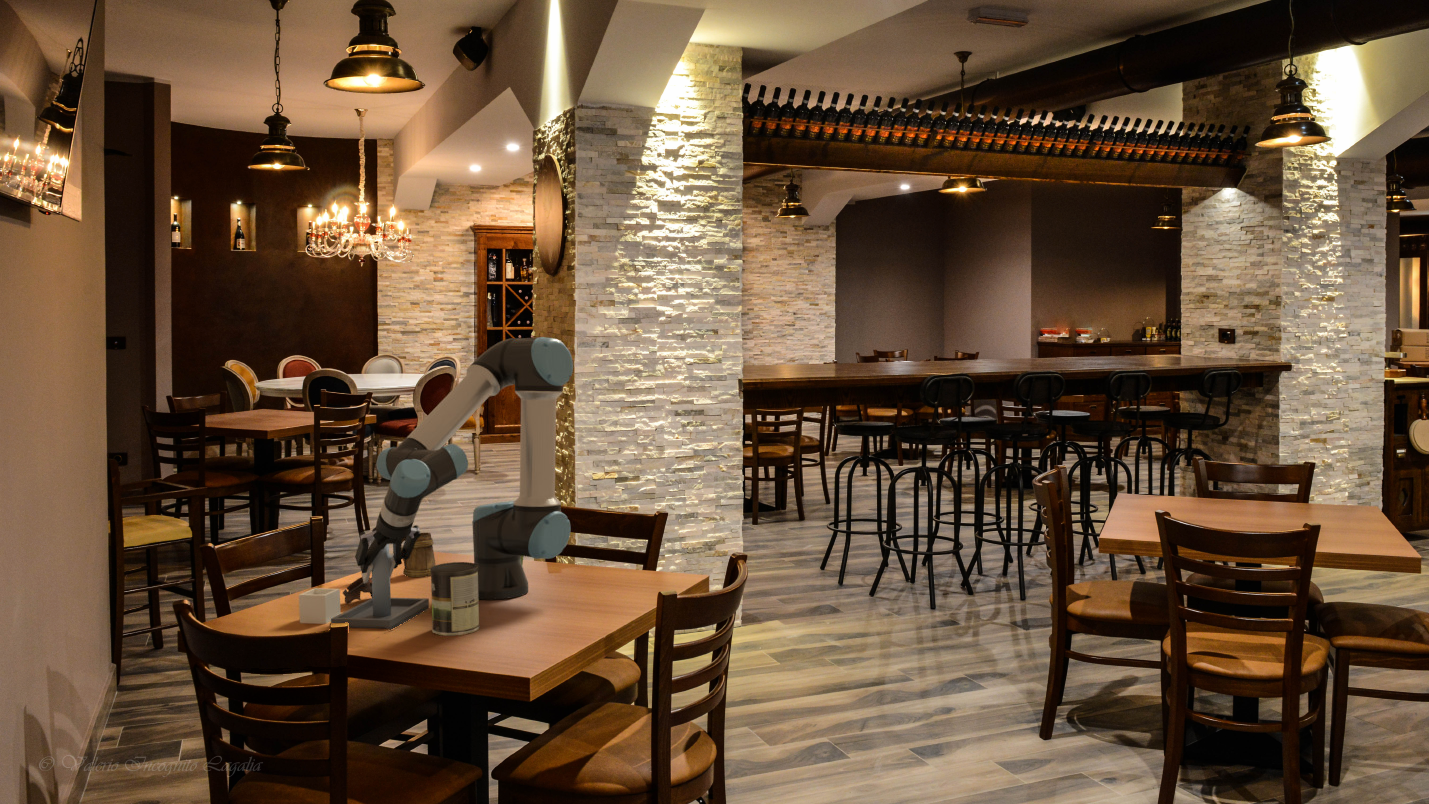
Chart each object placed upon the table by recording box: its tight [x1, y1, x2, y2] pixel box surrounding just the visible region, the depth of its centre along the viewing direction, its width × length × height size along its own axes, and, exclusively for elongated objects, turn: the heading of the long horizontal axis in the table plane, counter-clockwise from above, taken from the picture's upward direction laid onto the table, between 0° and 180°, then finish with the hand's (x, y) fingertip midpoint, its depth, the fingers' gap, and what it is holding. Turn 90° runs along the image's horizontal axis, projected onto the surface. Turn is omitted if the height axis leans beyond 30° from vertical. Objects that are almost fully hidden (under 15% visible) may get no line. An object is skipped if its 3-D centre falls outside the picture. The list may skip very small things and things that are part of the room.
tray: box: [330, 597, 430, 630], centre depth 237 cm, size 14×20×2 cm
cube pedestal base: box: [298, 587, 341, 625], centre depth 235 cm, size 6×6×7 cm
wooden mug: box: [401, 532, 437, 578], centre depth 284 cm, size 9×14×18 cm, turn 99°
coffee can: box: [430, 561, 480, 637], centre depth 226 cm, size 10×10×14 cm
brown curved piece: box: [342, 576, 372, 605], centre depth 251 cm, size 12×10×8 cm
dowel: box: [370, 538, 392, 617], centre depth 236 cm, size 4×4×18 cm
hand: (375, 576), depth 239 cm, fingers open, 4 cm apart
